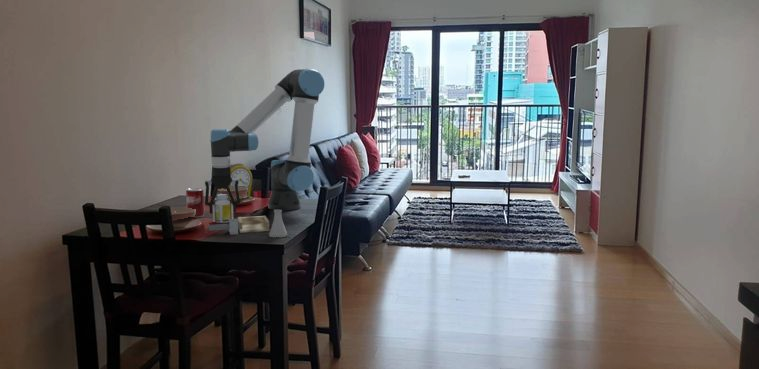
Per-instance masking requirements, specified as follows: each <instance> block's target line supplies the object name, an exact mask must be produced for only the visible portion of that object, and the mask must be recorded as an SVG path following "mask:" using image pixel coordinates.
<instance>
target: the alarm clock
mask: <svg viewBox="0 0 759 369" xmlns="http://www.w3.org/2000/svg"><path fill="white" fill-rule="evenodd" d="M229 167H230V168H231V178H232V179H233V180H238V181H239V182H238V186H246V187H248V194H247V196H250V197H251V193H252V185H253V175H252V174H253V173H252V172H251V170H250V168H249V167H247V166H245V165H244V163H241V162H233V163H230V166H229ZM229 186H230V187H231V186H235V185H234V184H233V182H231V184H230V185H229Z"/></svg>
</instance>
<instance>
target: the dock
mask: <svg viewBox="0 0 759 369" xmlns="http://www.w3.org/2000/svg"><path fill="white" fill-rule="evenodd" d="M236 219H237V221H238V223H240V229H238V232H239V233H240V234H241V233H254V232H255V233H256V232H270V230H271V229H270V221H269V218H267V216H266V215H258V216H238V217H236Z"/></svg>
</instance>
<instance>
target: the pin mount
mask: <svg viewBox="0 0 759 369" xmlns="http://www.w3.org/2000/svg"><path fill="white" fill-rule="evenodd" d="M228 224H230V229H228V231H229V235H231V236H232V235H239V229H238V219H237V218H234V219H229V222H228Z"/></svg>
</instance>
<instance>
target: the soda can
mask: <svg viewBox="0 0 759 369" xmlns="http://www.w3.org/2000/svg"><path fill="white" fill-rule="evenodd" d="M204 191H205V190H204V189H203V188H199V187H197V188H196V187H194V188H193V187H192V188H188V189H187V188H186V190H185V199H186V209H187V208H192V209H196V215H195V218H196V219H197V218H198V219H199V218H203V217H204V216H205V194H204V193H205V192H204ZM195 218H194V219H195Z"/></svg>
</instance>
